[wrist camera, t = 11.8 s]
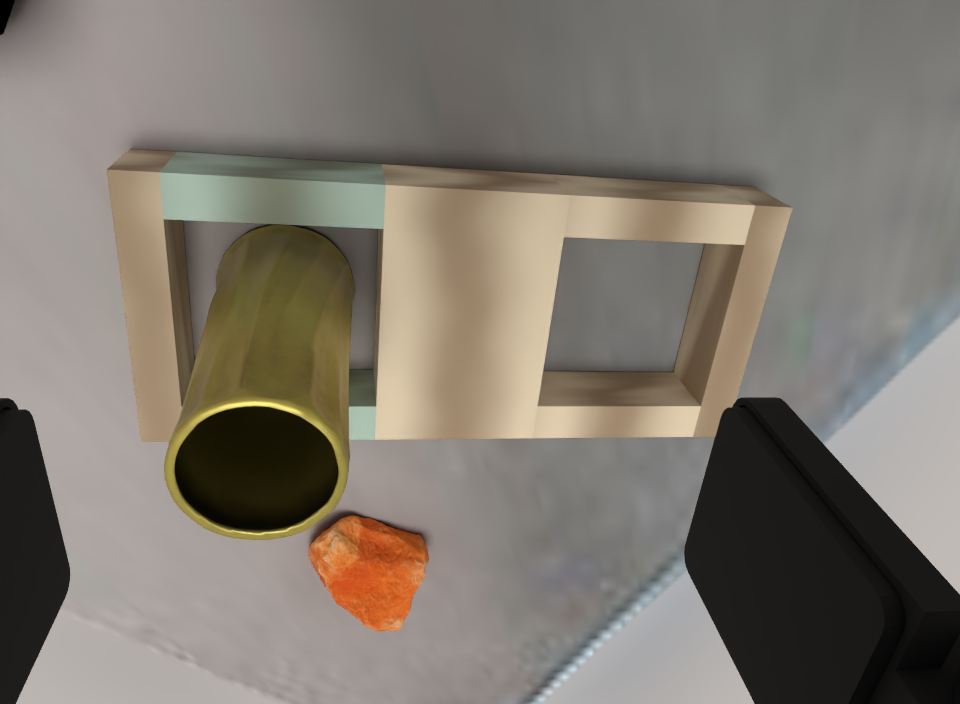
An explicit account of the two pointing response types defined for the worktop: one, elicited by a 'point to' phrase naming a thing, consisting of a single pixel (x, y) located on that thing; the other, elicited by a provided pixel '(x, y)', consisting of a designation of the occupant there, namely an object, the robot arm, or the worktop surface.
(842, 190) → the worktop surface
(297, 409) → the vase
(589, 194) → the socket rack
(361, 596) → the rock
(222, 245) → the worktop surface
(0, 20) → the cat figurine
